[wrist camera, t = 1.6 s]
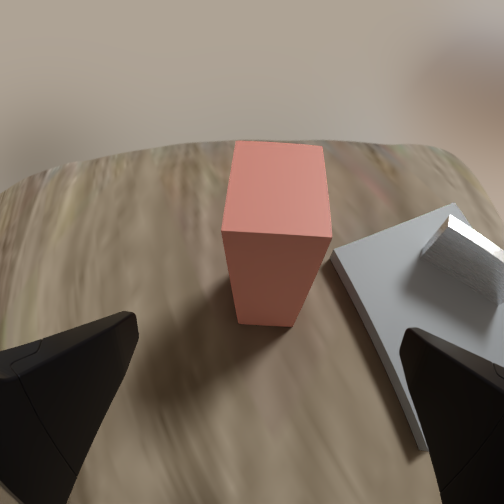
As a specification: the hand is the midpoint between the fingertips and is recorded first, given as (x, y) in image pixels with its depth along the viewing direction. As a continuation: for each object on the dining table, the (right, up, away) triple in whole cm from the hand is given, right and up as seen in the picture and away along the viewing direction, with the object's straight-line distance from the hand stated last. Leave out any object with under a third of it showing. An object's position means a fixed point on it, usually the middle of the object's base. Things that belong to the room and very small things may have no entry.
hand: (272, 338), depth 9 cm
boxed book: (+1, -1, +14) cm, 14 cm away
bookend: (+18, 0, +12) cm, 22 cm away
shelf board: (+16, -3, +12) cm, 21 cm away
